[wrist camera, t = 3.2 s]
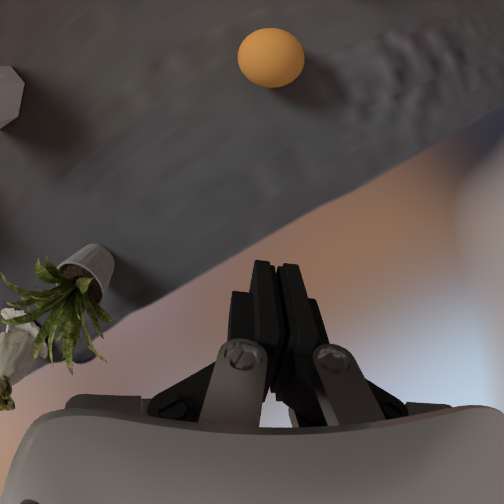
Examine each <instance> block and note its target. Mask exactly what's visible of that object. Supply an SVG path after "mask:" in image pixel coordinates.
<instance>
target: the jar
mask: <svg viewBox="0 0 504 504" xmlns="http://www.w3.org/2000/svg"><path fill="white" fill-rule="evenodd" d="M24 85H25V83H24V82H23V80H22V79H21V78H20V77H19V75H18V74H17V73H16V72H15V71H14V69H13V68H12V67H11V66H0V129H1V128H2V127H4V126H5V125H7V124H8V123H10V122H11V121H12V120H14V119H15V118H17V117H18V115H19V110H20V104H21V99H22V94H23V89H24Z"/></svg>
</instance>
